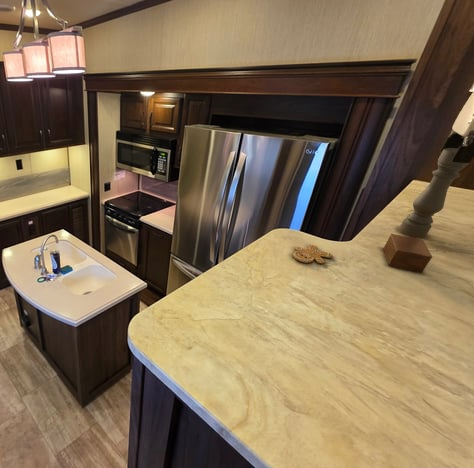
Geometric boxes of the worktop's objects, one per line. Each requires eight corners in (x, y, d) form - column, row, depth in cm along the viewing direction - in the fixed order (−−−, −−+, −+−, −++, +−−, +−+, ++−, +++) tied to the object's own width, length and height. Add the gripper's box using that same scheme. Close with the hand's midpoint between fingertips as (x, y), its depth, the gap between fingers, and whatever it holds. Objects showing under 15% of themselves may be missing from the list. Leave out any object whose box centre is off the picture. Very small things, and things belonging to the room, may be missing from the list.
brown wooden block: (413, 254, 79) (423, 239, 76) (422, 272, 73) (432, 256, 70) (383, 248, 82) (391, 233, 80) (388, 265, 76) (397, 249, 73)
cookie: (338, 256, 78) (312, 265, 75) (336, 259, 79) (310, 268, 76) (309, 241, 85) (284, 249, 82) (308, 244, 86) (283, 252, 83)
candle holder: (422, 230, 89) (471, 149, 76) (428, 239, 85) (481, 155, 72) (396, 225, 92) (439, 146, 79) (400, 234, 88) (446, 152, 75)
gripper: (540, 88, 60) (487, 168, 69) (503, 82, 72) (462, 150, 81) (487, 88, 63) (443, 164, 72) (460, 82, 76) (426, 147, 84)
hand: (453, 157), depth 77 cm, fingers open, 9 cm apart
